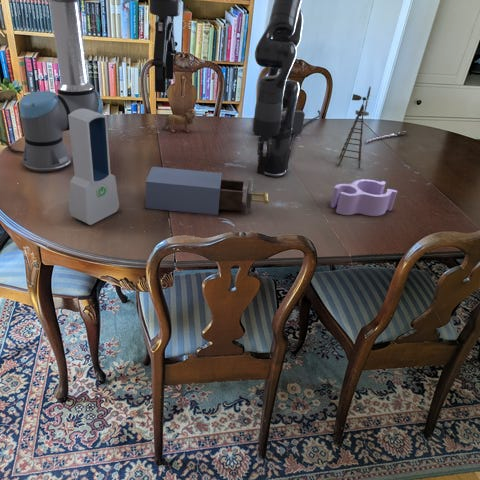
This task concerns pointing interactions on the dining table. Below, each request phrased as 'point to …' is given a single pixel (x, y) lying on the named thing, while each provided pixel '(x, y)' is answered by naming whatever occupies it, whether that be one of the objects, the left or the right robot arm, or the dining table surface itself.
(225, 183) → the drawer
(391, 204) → the clip
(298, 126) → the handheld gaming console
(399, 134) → the sword
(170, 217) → the dining table surface
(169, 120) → the lion figurine
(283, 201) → the dining table surface
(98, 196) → the electronic device
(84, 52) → the left robot arm
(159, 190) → the cabinet
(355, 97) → the miniature windmill
